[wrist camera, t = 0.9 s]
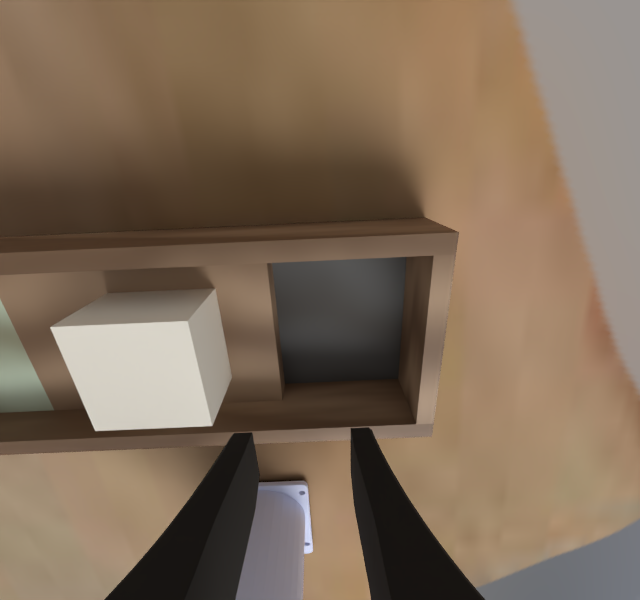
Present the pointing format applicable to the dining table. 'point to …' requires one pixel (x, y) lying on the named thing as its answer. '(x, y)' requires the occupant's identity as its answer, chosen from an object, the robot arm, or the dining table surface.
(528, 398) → the dining table surface
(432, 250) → the trap box
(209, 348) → the cream block
